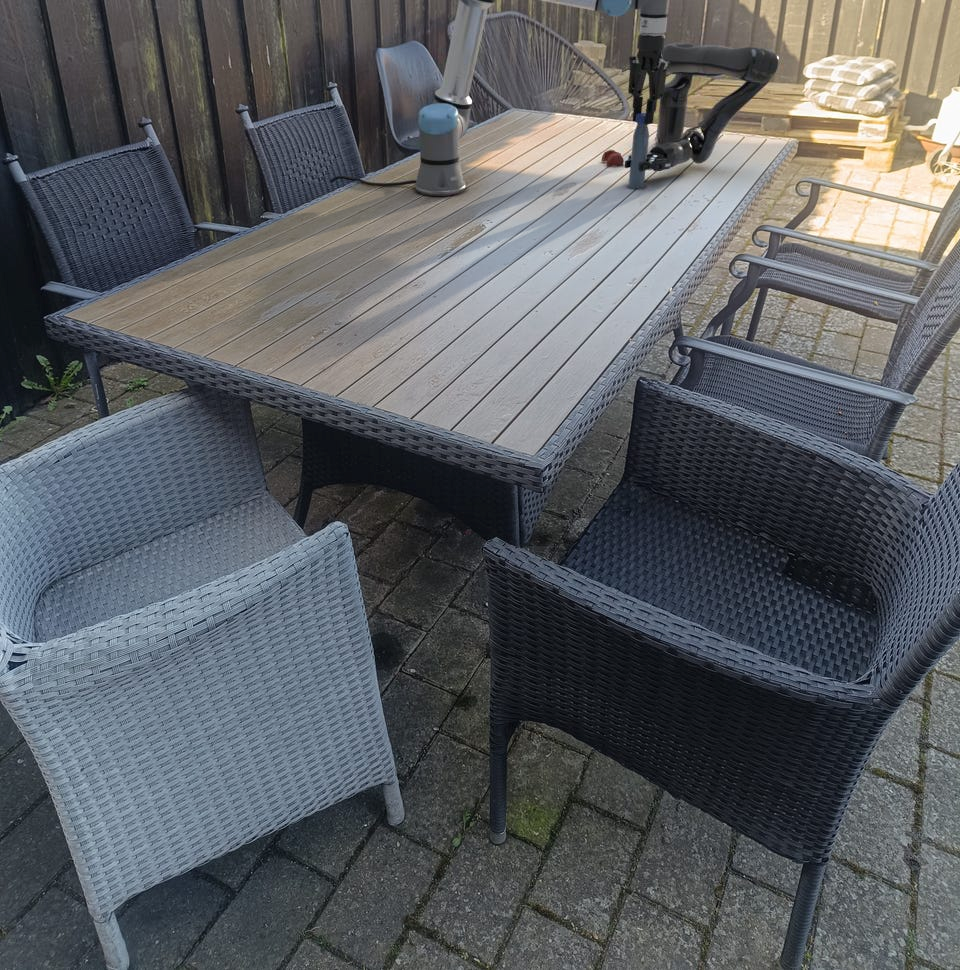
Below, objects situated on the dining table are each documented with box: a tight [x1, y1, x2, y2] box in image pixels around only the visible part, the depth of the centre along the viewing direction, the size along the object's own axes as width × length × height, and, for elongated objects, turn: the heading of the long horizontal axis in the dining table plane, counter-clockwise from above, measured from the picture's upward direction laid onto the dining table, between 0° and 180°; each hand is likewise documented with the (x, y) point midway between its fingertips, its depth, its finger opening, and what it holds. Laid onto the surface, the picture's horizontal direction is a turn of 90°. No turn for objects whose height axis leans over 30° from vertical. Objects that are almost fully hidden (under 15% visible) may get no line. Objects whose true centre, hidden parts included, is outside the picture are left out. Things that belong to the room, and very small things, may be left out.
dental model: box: [601, 149, 625, 167], centre depth 281 cm, size 6×4×8 cm
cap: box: [635, 112, 646, 124], centre depth 250 cm, size 4×4×2 cm
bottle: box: [627, 123, 650, 190], centre depth 255 cm, size 5×5×20 cm
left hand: (642, 122), depth 250 cm, fingers closed on cap, 4 cm apart
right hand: (632, 166), depth 256 cm, fingers closed on bottle, 4 cm apart
